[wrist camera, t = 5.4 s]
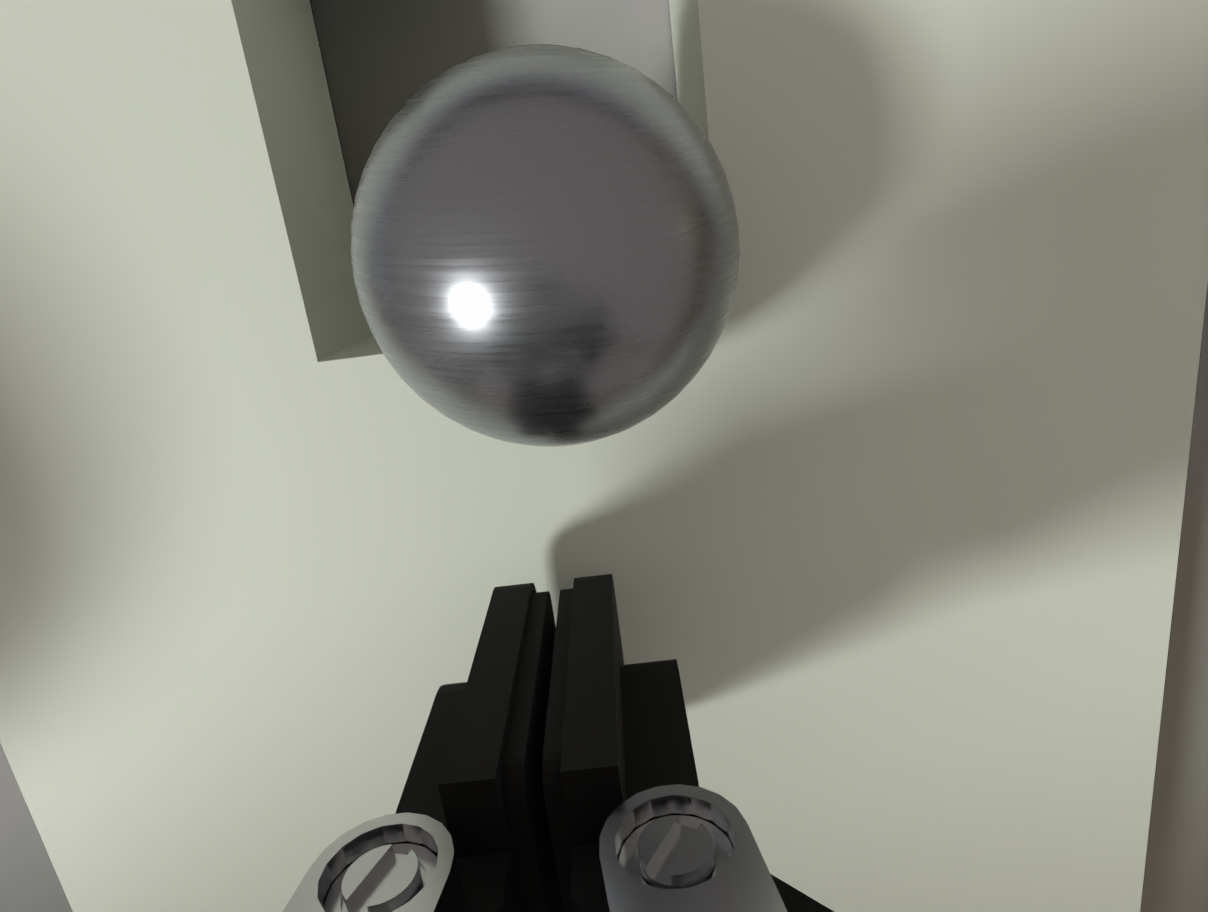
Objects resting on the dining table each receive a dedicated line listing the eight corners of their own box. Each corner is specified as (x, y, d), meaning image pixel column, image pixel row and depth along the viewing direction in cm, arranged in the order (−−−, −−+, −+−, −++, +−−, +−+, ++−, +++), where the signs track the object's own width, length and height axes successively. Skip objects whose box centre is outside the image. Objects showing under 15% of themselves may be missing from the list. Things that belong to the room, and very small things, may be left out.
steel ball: (725, 48, 9) (724, 375, 11) (394, 72, 9) (441, 384, 11) (768, -2, 5) (755, 509, 7) (221, 40, 6) (329, 517, 7)
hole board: (1025, 1096, 19) (1102, 1256, 16) (304, 1165, 19) (252, 1331, 16) (1115, -535, 10) (1329, -850, 7) (-229, -324, 10) (-545, -531, 7)
